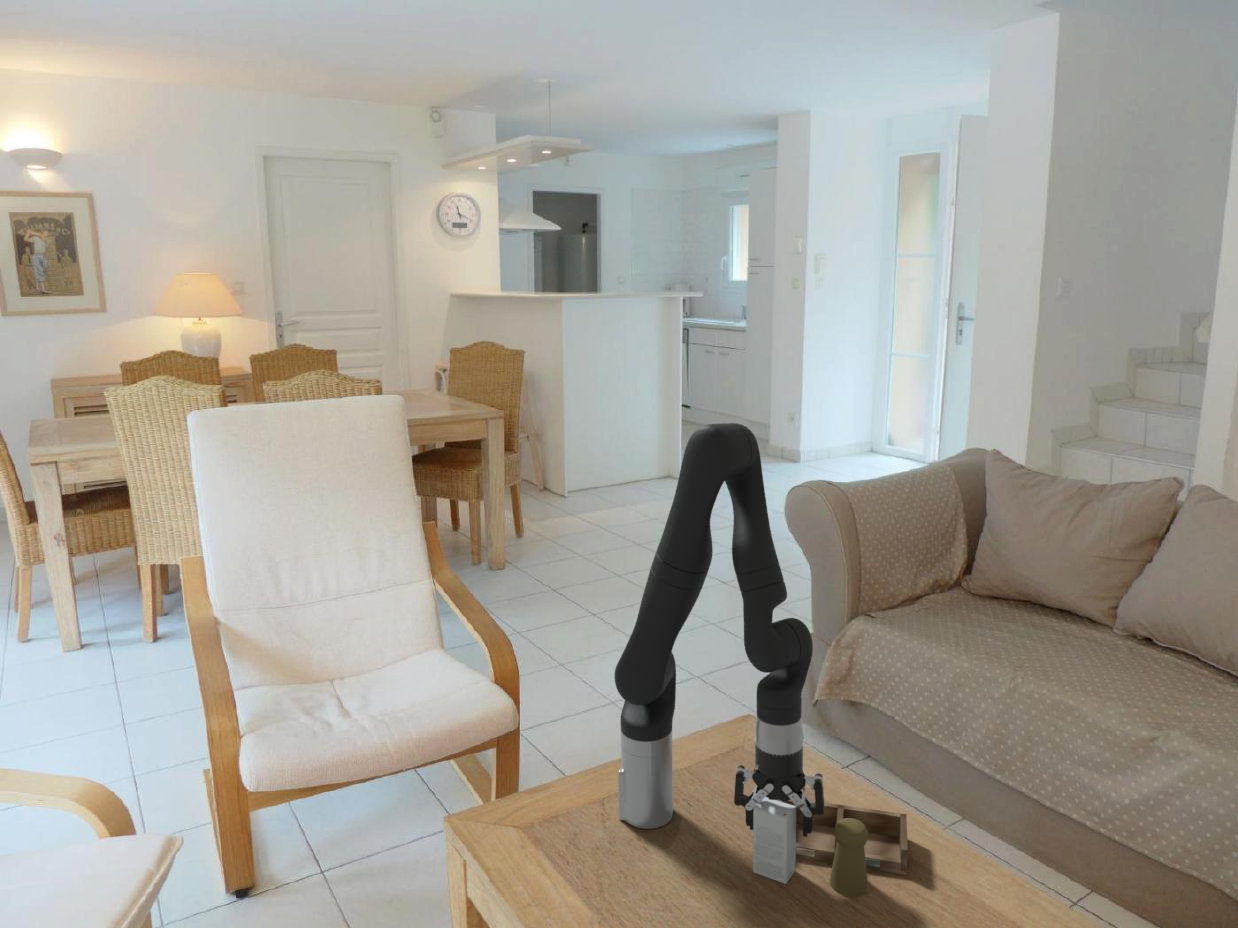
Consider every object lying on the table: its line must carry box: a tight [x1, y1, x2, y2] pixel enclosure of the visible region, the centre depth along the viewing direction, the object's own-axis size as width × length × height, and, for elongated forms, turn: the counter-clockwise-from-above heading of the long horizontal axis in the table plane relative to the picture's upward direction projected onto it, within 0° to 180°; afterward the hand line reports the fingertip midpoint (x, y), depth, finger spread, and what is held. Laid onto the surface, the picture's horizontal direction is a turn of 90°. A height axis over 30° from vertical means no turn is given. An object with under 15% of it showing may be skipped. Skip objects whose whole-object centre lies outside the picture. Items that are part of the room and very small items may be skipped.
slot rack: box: [777, 799, 909, 876], centre depth 155 cm, size 22×10×5 cm, turn 74°
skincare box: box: [752, 797, 797, 885], centre depth 148 cm, size 6×4×12 cm
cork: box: [829, 818, 869, 898], centre depth 145 cm, size 6×6×11 cm
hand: (778, 830), depth 148 cm, fingers open, 8 cm apart
